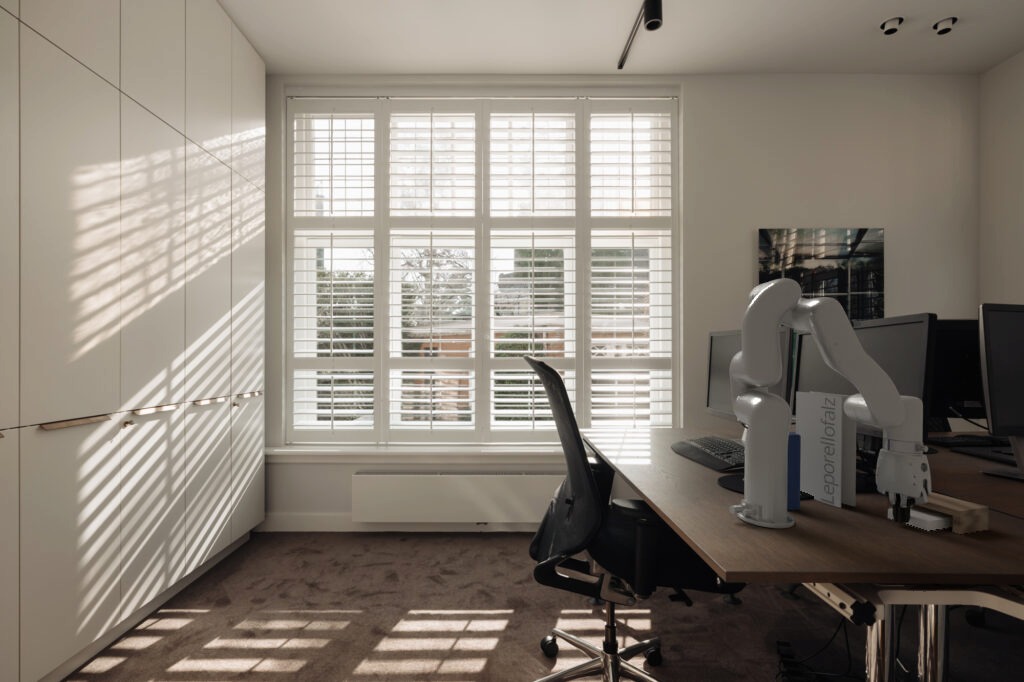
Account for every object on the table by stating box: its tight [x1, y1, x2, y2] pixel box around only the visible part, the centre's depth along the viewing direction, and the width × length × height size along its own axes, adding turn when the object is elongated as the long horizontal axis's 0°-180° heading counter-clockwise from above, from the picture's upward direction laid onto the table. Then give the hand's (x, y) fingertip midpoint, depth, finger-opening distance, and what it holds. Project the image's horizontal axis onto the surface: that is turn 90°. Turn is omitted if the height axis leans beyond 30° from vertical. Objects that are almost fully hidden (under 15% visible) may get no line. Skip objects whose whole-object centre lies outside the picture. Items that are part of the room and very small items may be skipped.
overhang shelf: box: [887, 491, 990, 535], centre depth 123 cm, size 10×16×6 cm, turn 19°
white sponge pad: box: [887, 505, 953, 532], centre depth 122 cm, size 14×9×2 cm, turn 109°
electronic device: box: [787, 431, 801, 511], centre depth 133 cm, size 10×5×20 cm, turn 9°
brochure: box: [795, 390, 857, 509], centre depth 139 cm, size 14×6×30 cm, turn 18°
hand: (901, 521), depth 118 cm, fingers closed
